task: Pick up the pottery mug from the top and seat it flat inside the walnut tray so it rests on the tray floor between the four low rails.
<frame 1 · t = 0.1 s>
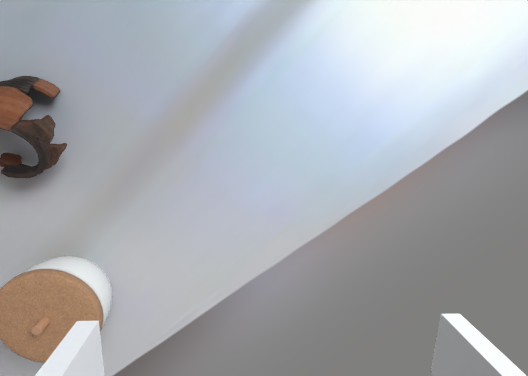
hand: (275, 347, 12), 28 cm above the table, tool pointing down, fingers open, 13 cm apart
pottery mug: (27, 118, 36), on the table
lidded jar: (82, 280, 41), on the table
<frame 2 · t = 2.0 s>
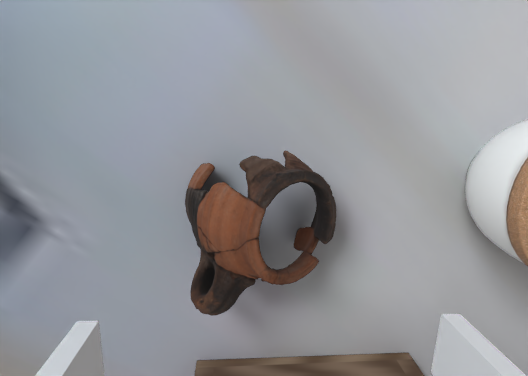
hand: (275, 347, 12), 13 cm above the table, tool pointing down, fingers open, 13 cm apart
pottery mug: (245, 214, 25), on the table
lidded jar: (499, 175, 26), on the table
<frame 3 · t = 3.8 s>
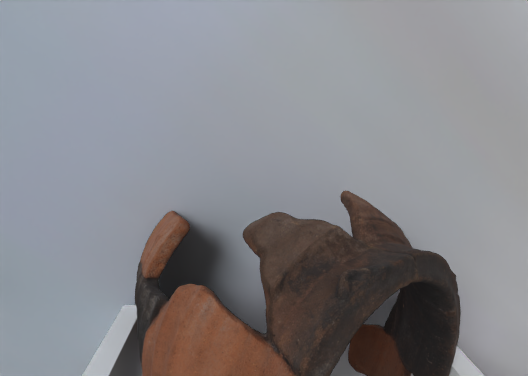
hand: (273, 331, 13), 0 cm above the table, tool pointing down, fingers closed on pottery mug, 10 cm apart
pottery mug: (255, 300, 13), on the table, touching gripper
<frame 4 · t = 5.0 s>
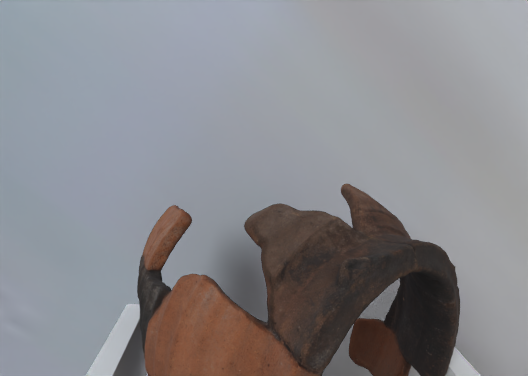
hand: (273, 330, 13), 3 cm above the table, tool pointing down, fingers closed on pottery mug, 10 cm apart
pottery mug: (256, 295, 14), point 3 cm above the table, touching gripper
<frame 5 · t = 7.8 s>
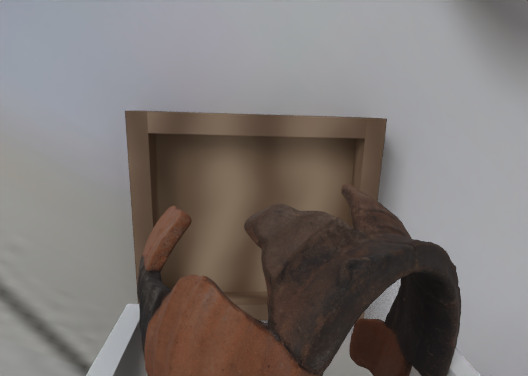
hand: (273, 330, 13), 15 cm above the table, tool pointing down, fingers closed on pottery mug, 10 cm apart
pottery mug: (257, 295, 14), point 15 cm above the table, touching gripper
walnut tray: (255, 214, 28), on the table
when the fingers open (3 cm above the table, at t = 10.9 s): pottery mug drops 2 cm, resting on walnut tray.
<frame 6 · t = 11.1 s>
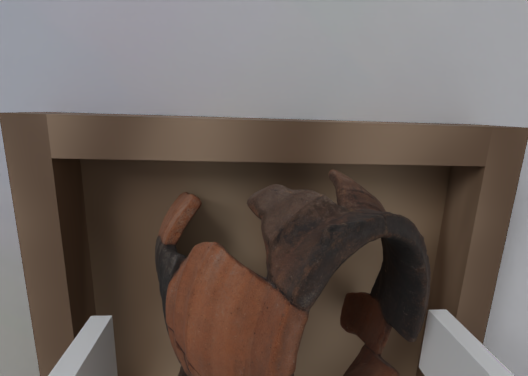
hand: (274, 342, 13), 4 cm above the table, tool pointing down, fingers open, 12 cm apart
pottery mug: (258, 272, 15), point 1 cm above the table, touching walnut tray
walnut tray: (267, 291, 16), on the table
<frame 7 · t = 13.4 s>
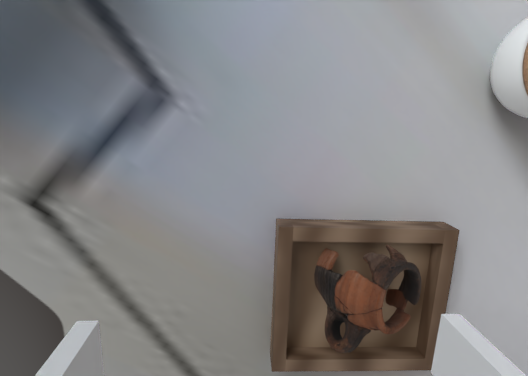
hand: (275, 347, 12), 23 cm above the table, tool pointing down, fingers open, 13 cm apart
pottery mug: (351, 280, 37), point 1 cm above the table, touching walnut tray
lidded jar: (516, 71, 34), on the table
walnut tray: (354, 289, 38), on the table
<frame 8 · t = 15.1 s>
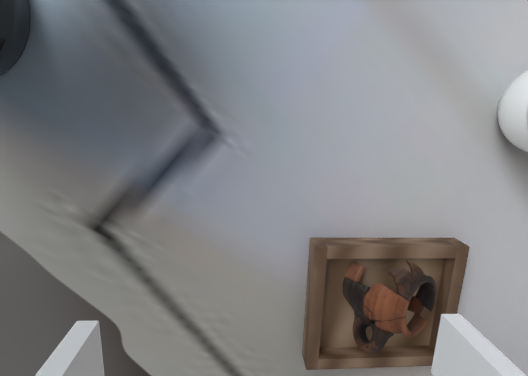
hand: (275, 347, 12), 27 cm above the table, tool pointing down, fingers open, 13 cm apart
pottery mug: (373, 288, 42), point 1 cm above the table, touching walnut tray
lidded jar: (520, 108, 39), on the table
walnut tray: (376, 297, 43), on the table
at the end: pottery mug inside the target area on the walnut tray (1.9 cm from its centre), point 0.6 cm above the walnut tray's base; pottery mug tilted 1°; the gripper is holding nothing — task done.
